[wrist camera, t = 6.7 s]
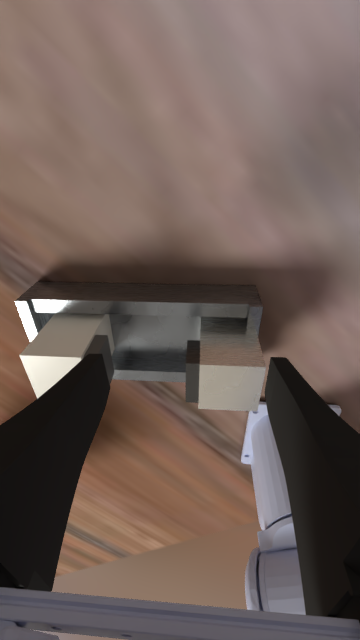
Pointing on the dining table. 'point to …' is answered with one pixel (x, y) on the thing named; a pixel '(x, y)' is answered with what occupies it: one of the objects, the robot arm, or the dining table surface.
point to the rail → (169, 334)
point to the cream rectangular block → (67, 347)
